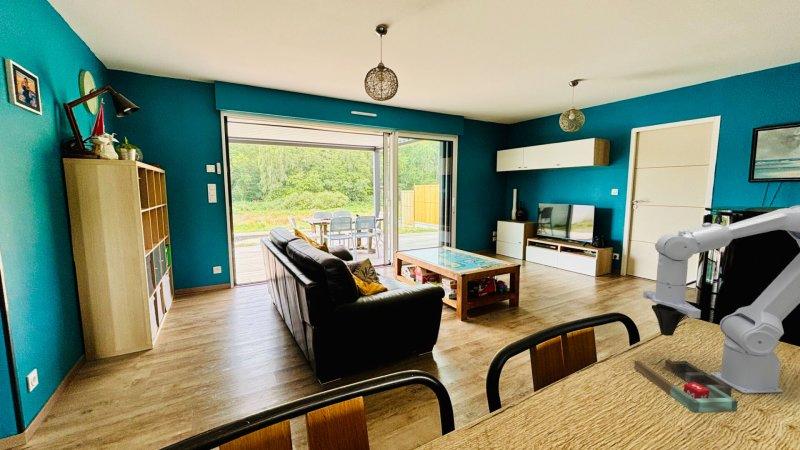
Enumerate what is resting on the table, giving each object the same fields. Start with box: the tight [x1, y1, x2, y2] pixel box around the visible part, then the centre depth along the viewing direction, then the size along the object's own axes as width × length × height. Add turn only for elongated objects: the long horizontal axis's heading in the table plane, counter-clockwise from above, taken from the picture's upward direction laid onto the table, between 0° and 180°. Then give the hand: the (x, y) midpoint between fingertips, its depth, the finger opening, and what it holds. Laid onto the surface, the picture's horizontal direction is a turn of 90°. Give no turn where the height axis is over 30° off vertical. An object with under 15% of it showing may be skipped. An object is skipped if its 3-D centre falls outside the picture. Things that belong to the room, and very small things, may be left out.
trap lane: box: [633, 359, 738, 413], centre depth 77 cm, size 13×17×2 cm
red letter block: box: [683, 382, 710, 399], centre depth 72 cm, size 3×3×3 cm
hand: (666, 334), depth 82 cm, fingers closed
